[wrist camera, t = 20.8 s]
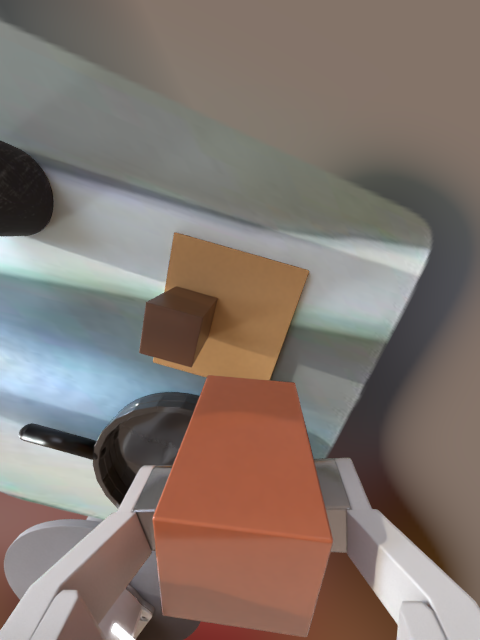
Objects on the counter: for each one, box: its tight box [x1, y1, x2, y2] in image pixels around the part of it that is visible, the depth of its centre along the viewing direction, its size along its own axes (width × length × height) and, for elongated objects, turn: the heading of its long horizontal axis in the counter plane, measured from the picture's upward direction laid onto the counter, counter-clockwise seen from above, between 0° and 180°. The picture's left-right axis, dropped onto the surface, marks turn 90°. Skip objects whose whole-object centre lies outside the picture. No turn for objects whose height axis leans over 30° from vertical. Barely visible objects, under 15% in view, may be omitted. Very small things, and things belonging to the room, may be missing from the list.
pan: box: [93, 392, 200, 509], centre depth 28 cm, size 19×19×2 cm
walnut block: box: [139, 286, 218, 367], centre depth 19 cm, size 4×4×6 cm
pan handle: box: [19, 424, 106, 460], centre depth 27 cm, size 2×10×2 cm, turn 75°
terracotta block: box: [153, 375, 333, 637], centre depth 9 cm, size 4×4×6 cm
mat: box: [153, 233, 309, 380], centre depth 23 cm, size 13×12×1 cm
